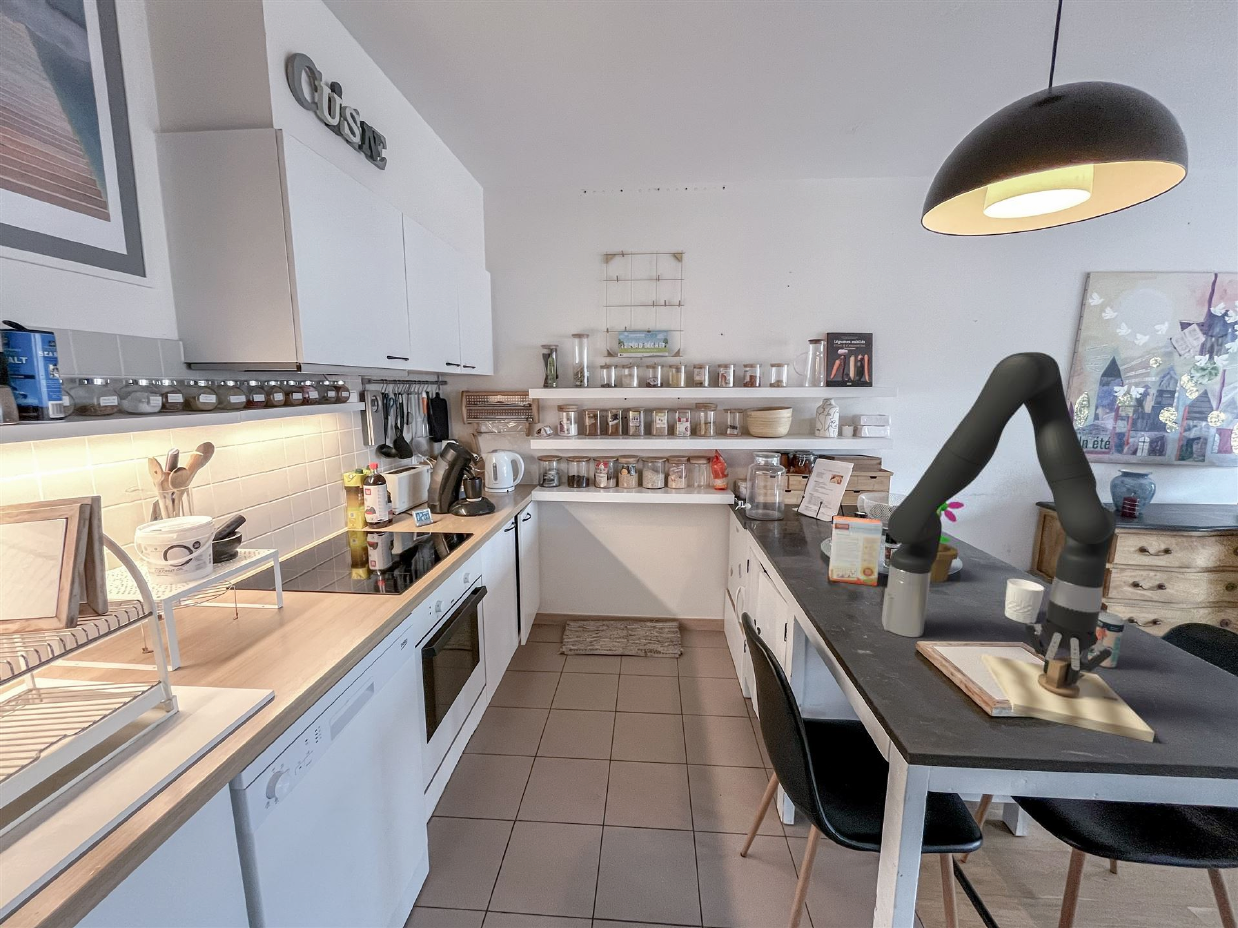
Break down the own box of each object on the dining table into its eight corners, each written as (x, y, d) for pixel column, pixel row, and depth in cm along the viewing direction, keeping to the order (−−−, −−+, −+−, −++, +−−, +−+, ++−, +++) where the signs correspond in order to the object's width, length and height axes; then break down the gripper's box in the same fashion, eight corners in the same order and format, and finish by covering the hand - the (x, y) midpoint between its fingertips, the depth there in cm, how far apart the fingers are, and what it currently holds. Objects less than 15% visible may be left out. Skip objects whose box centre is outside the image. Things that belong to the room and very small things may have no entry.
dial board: (1012, 712, 96) (1014, 702, 95) (980, 661, 113) (982, 653, 113) (1152, 742, 88) (1154, 731, 88) (1095, 682, 106) (1097, 673, 105)
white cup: (1039, 617, 135) (1045, 584, 133) (1037, 627, 129) (1043, 593, 128) (1003, 608, 140) (1008, 576, 139) (1000, 617, 135) (1006, 584, 133)
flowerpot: (959, 576, 163) (972, 490, 158) (947, 588, 154) (959, 497, 149) (913, 564, 174) (923, 483, 169) (898, 574, 165) (908, 488, 159)
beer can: (1086, 654, 117) (1095, 608, 115) (1113, 662, 114) (1123, 615, 112) (1088, 663, 113) (1097, 616, 111) (1117, 671, 110) (1127, 622, 108)
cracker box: (873, 579, 160) (880, 518, 156) (876, 587, 154) (884, 524, 150) (827, 573, 164) (833, 514, 160) (829, 580, 158) (835, 519, 155)
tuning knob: (1068, 699, 96) (1073, 672, 95) (1030, 681, 102) (1035, 655, 101) (1101, 685, 101) (1106, 659, 100) (1063, 669, 107) (1068, 644, 106)
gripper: (1025, 594, 100) (1012, 670, 103) (1120, 620, 89) (1103, 704, 92) (1034, 585, 105) (1022, 658, 108) (1126, 609, 94) (1109, 689, 97)
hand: (1059, 679), depth 100 cm, fingers closed on tuning knob, 2 cm apart
